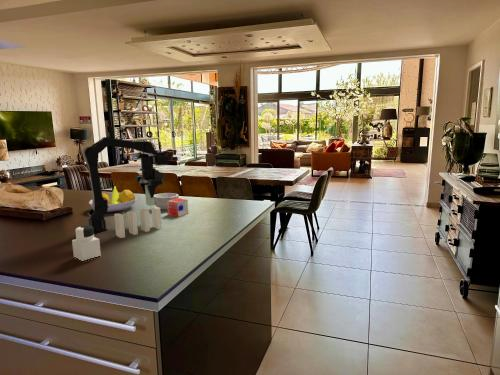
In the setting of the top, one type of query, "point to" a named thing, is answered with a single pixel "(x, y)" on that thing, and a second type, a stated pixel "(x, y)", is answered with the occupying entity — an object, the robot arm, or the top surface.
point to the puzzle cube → (177, 207)
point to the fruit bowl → (119, 200)
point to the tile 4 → (156, 217)
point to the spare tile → (149, 198)
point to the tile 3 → (144, 220)
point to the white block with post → (85, 243)
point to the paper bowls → (164, 199)
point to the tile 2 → (132, 222)
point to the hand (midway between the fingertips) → (149, 197)
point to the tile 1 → (119, 225)
